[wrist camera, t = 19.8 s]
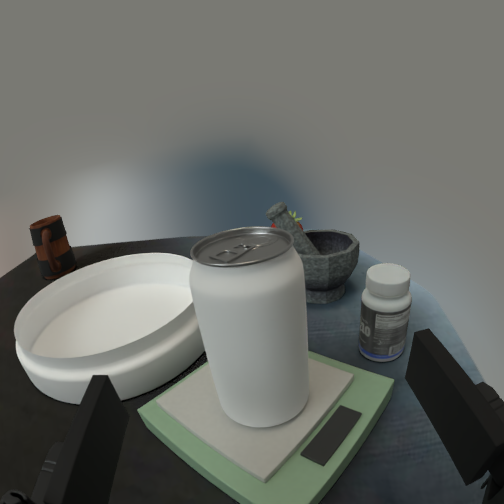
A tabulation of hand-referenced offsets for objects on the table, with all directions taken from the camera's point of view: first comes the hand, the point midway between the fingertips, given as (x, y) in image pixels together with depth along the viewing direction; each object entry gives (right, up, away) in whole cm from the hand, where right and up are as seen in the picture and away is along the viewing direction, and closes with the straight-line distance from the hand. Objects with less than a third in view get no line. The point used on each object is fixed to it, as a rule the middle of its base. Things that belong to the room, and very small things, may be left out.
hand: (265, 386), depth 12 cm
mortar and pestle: (+8, 0, +29) cm, 30 cm away
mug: (-41, +1, +47) cm, 62 cm away
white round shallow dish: (-18, -5, +25) cm, 31 cm away
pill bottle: (+12, -4, +17) cm, 21 cm away
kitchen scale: (+1, -8, +11) cm, 13 cm away
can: (0, -5, +10) cm, 11 cm away
